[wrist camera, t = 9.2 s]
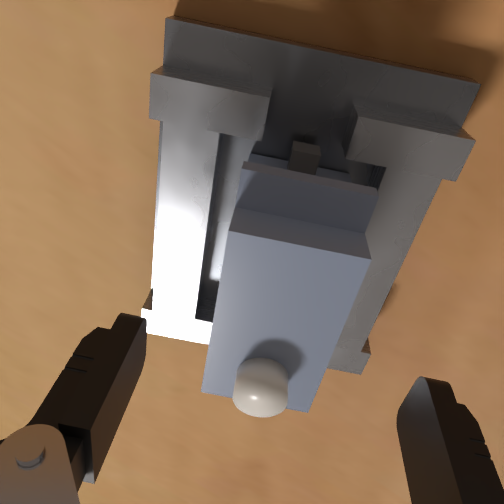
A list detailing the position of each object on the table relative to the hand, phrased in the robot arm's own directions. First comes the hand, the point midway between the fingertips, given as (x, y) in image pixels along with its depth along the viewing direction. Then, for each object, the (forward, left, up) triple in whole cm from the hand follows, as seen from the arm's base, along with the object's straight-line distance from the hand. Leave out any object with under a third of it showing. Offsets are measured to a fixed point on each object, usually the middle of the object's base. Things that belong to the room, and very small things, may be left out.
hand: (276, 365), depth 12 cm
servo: (0, 0, -7) cm, 7 cm away
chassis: (0, 0, -8) cm, 8 cm away
